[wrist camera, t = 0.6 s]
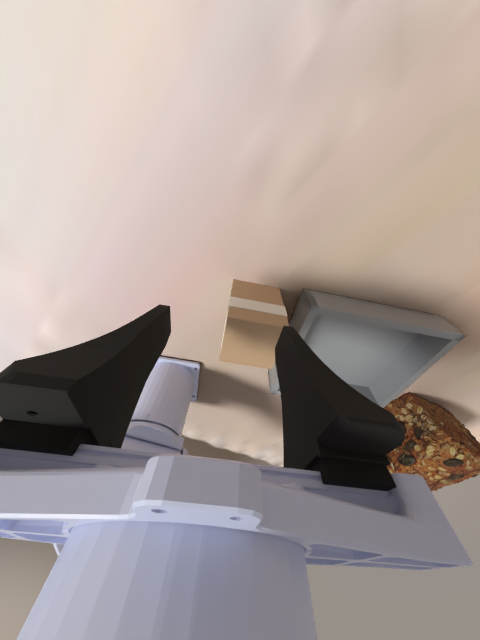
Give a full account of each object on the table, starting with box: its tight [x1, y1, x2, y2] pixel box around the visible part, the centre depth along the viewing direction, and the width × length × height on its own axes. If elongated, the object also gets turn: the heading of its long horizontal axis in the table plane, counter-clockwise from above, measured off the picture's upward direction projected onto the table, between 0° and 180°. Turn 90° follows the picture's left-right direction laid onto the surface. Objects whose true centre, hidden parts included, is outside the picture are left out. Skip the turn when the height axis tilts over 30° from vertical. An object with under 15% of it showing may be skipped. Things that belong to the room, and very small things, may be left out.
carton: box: [219, 279, 289, 369], centre depth 20 cm, size 5×5×7 cm
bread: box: [384, 393, 480, 491], centre depth 32 cm, size 19×11×10 cm, turn 152°
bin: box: [268, 289, 466, 408], centre depth 24 cm, size 14×16×4 cm
